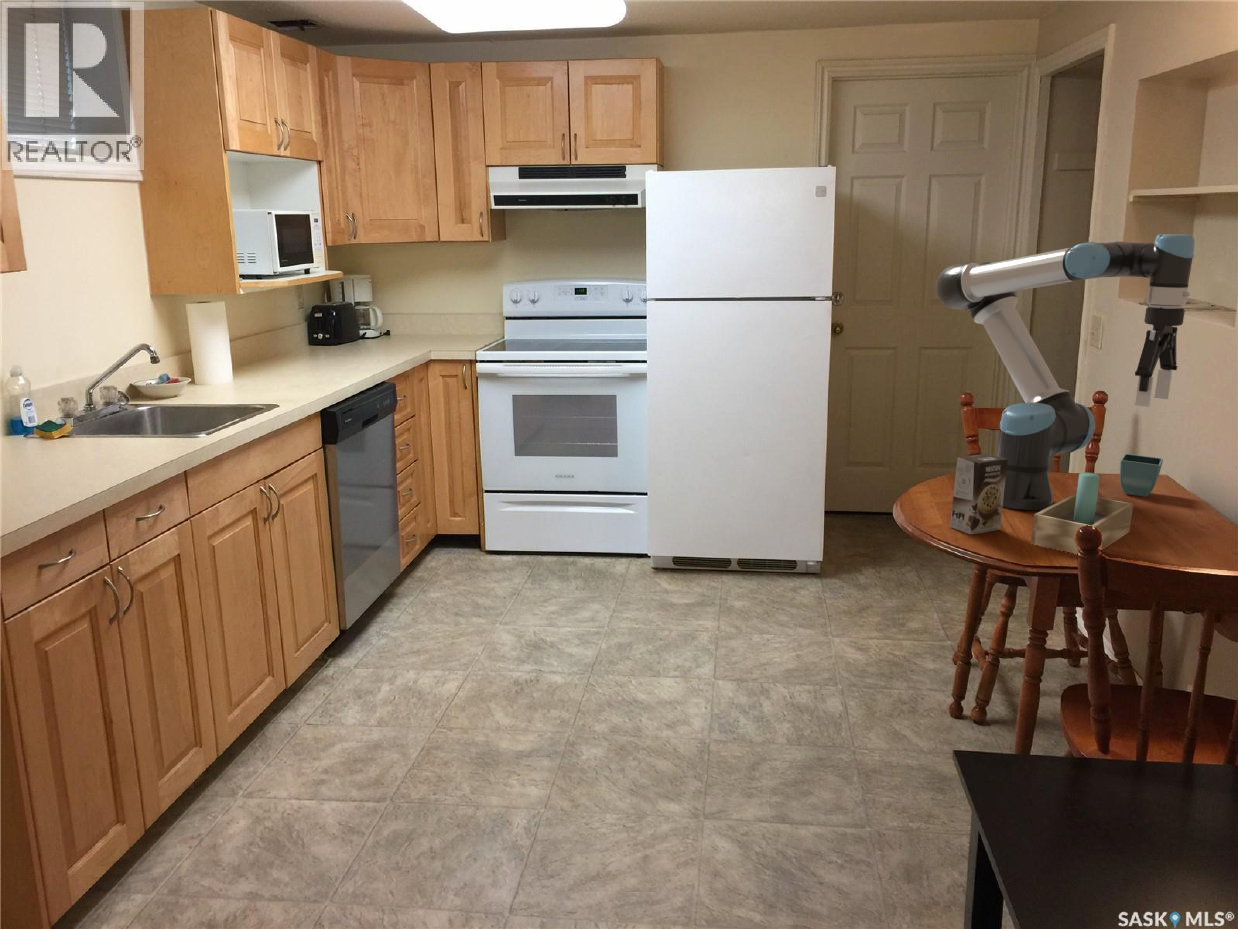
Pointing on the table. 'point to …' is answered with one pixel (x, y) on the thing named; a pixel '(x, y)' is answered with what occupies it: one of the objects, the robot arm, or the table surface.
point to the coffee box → (978, 493)
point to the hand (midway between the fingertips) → (1151, 402)
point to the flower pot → (1139, 474)
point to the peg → (1086, 498)
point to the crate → (1059, 528)
